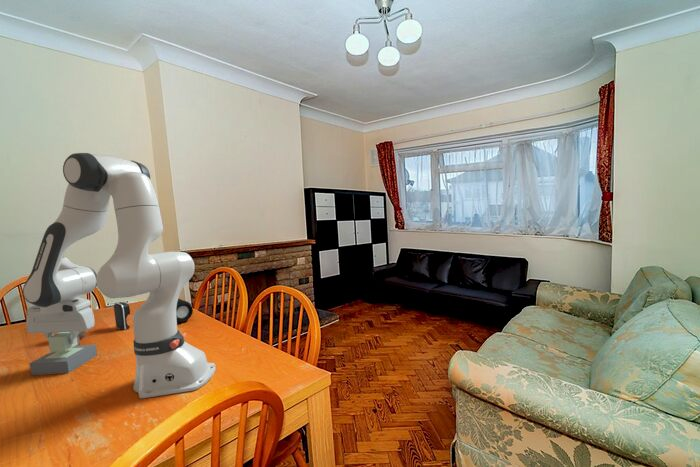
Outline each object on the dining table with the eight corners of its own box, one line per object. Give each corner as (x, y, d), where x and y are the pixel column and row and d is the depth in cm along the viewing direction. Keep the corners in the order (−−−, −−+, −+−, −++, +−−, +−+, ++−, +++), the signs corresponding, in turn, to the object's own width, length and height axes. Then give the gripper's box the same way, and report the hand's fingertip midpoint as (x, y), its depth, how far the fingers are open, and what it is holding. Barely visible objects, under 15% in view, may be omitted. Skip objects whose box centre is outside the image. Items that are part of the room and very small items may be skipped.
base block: (97, 355, 114) (95, 344, 113) (68, 372, 102) (67, 360, 102) (63, 356, 114) (62, 345, 113) (31, 374, 102) (29, 362, 101)
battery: (133, 327, 139) (130, 302, 138) (123, 330, 136) (120, 305, 135) (125, 324, 143) (122, 300, 142) (115, 327, 140) (112, 303, 139)
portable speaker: (195, 319, 146) (193, 299, 145) (173, 326, 139) (171, 305, 138) (171, 309, 162) (170, 291, 161) (150, 315, 154) (148, 296, 153)
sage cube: (77, 344, 110) (75, 330, 109) (65, 351, 105) (63, 337, 104) (63, 345, 110) (61, 331, 109) (50, 351, 105) (48, 337, 104)
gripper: (17, 309, 102) (23, 349, 104) (80, 306, 103) (85, 346, 104) (36, 302, 109) (41, 340, 110) (95, 300, 109) (100, 338, 110)
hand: (63, 343), depth 107 cm, fingers closed on sage cube, 5 cm apart
